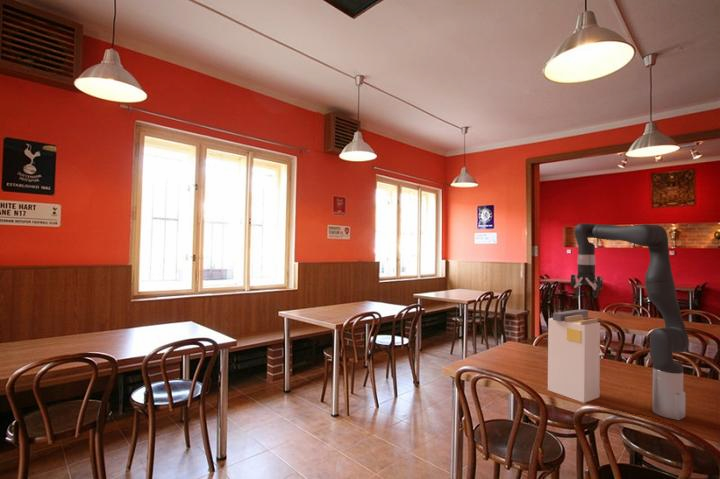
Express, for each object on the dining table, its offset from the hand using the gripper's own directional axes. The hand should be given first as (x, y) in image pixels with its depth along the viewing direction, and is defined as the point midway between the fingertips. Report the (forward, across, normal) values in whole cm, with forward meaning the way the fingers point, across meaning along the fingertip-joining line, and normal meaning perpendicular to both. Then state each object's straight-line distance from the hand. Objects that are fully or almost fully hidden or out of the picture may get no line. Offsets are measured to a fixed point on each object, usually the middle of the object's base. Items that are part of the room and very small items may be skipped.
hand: (586, 296), depth 187 cm
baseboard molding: (+41, +21, -35) cm, 58 cm away
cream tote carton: (+40, -8, +26) cm, 48 cm away
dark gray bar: (+8, -4, +21) cm, 23 cm away
